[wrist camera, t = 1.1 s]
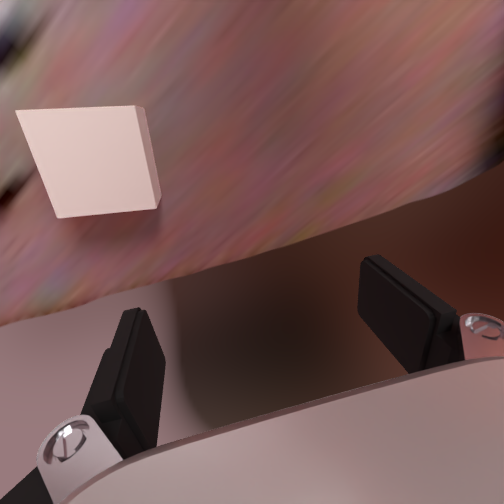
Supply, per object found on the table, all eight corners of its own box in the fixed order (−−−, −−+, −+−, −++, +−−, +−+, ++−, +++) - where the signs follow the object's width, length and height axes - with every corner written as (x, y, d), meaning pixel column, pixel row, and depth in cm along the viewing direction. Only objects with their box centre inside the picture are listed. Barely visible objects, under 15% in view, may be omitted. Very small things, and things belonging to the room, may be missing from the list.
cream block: (47, 112, 29) (15, 110, 23) (144, 108, 30) (134, 105, 25) (78, 202, 33) (57, 218, 28) (161, 195, 35) (156, 208, 30)
